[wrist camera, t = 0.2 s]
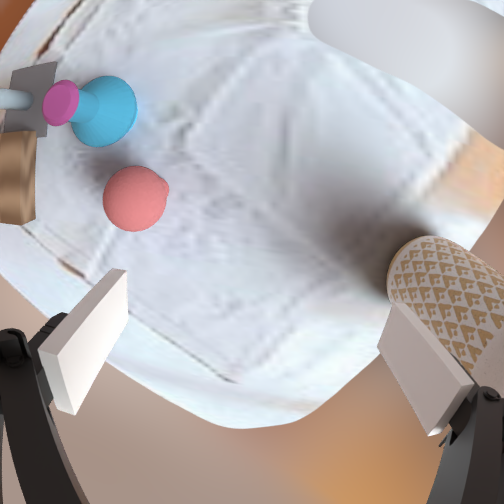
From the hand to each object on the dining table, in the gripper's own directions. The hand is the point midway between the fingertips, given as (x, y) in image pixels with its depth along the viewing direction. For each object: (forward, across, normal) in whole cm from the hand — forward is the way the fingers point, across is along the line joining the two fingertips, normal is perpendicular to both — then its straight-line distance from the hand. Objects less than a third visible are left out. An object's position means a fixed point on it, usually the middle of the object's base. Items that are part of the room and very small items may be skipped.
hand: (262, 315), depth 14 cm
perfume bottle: (+28, -20, +11) cm, 36 cm away
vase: (+28, +27, -6) cm, 39 cm away
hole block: (+28, -41, +1) cm, 49 cm away
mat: (+28, -37, +14) cm, 48 cm away
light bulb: (+28, -13, +1) cm, 31 cm away
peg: (+27, -37, +14) cm, 48 cm away
